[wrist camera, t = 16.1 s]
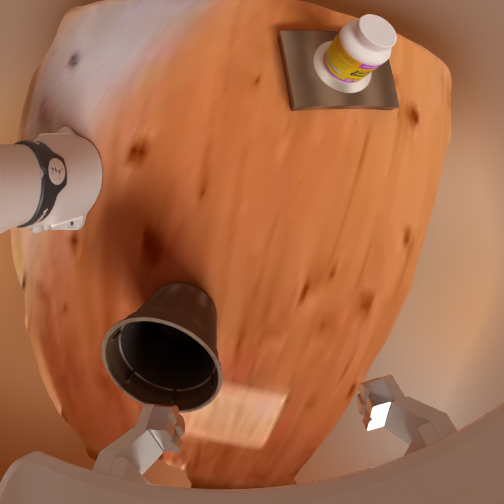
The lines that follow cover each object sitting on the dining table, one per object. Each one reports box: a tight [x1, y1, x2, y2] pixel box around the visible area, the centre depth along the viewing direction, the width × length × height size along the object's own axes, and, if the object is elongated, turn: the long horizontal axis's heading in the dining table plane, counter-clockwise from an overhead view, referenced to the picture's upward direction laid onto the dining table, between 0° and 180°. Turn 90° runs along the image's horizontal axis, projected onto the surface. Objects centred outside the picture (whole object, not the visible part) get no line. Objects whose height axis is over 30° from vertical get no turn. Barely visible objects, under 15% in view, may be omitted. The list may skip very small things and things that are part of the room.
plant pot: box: [102, 282, 222, 413], centre depth 38 cm, size 16×16×16 cm
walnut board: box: [278, 30, 399, 111], centre depth 33 cm, size 17×13×3 cm
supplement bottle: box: [323, 14, 397, 84], centre depth 25 cm, size 7×7×13 cm
